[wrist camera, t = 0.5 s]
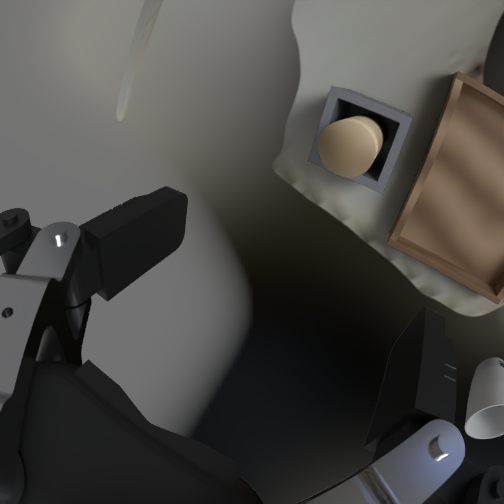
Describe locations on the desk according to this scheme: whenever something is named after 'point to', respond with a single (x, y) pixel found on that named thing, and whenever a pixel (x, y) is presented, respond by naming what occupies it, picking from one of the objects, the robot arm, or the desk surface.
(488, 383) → the cup
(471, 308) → the desk surface
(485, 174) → the tray
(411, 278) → the desk surface
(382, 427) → the robot arm
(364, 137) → the dowel
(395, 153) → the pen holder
